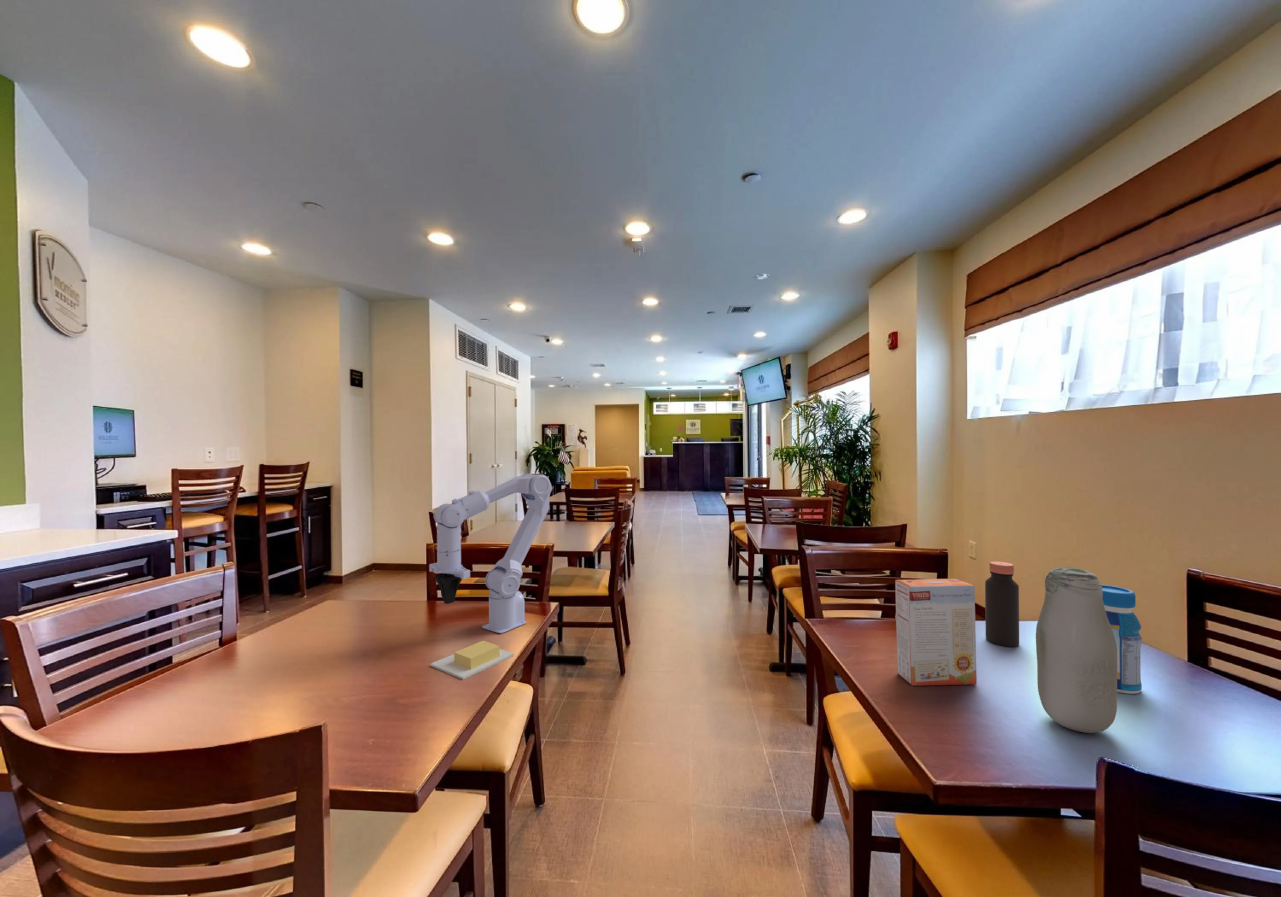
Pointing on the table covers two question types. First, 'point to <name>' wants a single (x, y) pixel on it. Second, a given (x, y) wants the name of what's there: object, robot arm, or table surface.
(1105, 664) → the grey jar
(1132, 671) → the beverage bottle
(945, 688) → the table surface
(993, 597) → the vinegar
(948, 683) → the cracker box
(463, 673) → the mat
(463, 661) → the block
